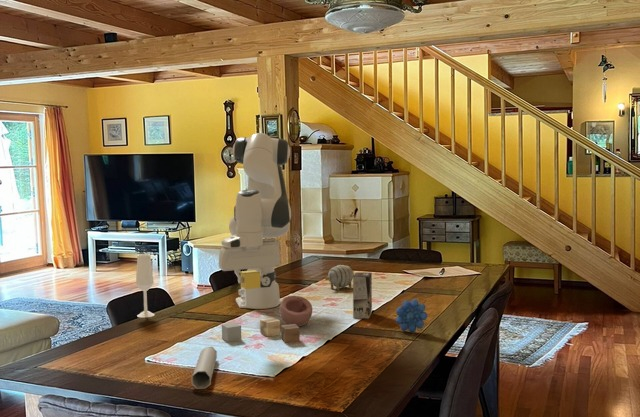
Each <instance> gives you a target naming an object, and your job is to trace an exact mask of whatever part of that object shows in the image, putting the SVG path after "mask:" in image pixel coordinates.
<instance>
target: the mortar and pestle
mask: <svg viewBox="0 0 640 417" xmlns="http://www.w3.org/2000/svg"><path fill="white" fill-rule="evenodd" d="M281 300H282V302H281V304H279V308H278V309H279V310H278V311H279V316H280V318H281V320H282V322H284V324H285V325H290V324H296V325H297V326H298V327H301V326H303V325H305V324H307V323H308V322H309V320H310V319H311V317H312V314H313V305H312V303H311V302H310V301H309V300H308V299H306V298H305V297H303V296H298V295H288V296H286V297H284V298H283V299H281Z"/></svg>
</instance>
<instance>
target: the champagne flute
mask: <svg viewBox="0 0 640 417" xmlns="http://www.w3.org/2000/svg"><path fill="white" fill-rule="evenodd" d="M136 260H137V261H136V274H135V285H136V286H137V288H138V289H139V290H141V291H142V292H143V311H141V312H140V313H139V314H137V315H136V316H137V318H152V317H154V316H155V313H153V312H151V311H149V310H148V296H147V295H148V294H147V291H149V289H151V288H152V287H153V285H154V276H153V268H152V259H151V254H150V253H141V254H137V258H136Z"/></svg>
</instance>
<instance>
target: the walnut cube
mask: <svg viewBox="0 0 640 417" xmlns="http://www.w3.org/2000/svg"><path fill="white" fill-rule="evenodd" d="M300 329H301V328H300V326H297V325H296V324H290V325H288V324H280V335H281V337H280V338H281V339H282V340H281V341H282V342H283V343H284V344H285V345H287V344H296V343H297V344H298V343H300V338H301V337H300V336H301V335H300V331H301V330H300Z"/></svg>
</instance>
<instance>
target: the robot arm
mask: <svg viewBox="0 0 640 417" xmlns="http://www.w3.org/2000/svg"><path fill="white" fill-rule="evenodd" d="M290 147H291V146H290V145H289V142H288V140H286V139H283V138H276V137H271V136H269V135H268V134H266V133H263V132H257V133H254V134H251V136H249V137H246V136H243V137H242V136H241V137H238V138H236V140H235V142H234V144H233V146H232V156H233V158H234V160H235V162H236V163H239V164H241V165H242V166H243V171H244V173H245V175H246V176H247V189H242V190H240V191H238V192H237V193H236V199H235V205H234V207H233V216H232V217H231V218H230V220H229V222H228V223H229V224H228V230H229V233H230V234H231V236H228V237H226V238H224V239H222V240H221V246H222V247H221V249H220V250H219V254H218V255H219V256H218V267H219V269H220V270H222V272H229V271H234V274H235V275H236V277H237V282H238V284H241V283H244V281H243V280H244V278H243V277H241V274H240V273H241V270H246V271H252V270H256V271H258V272H260V288H254V289H244V288H242V287H241V286H240V289H238V291H237V292H238V295H239V297H236V298H235V302H236V303H237V306H238V307H239V308H240V309H251V310H253V309H254V310H263V309H264V310H265V309H272V308H275V307H278V306H280V304H281V302H282V300H283V299H281V298H280V287H279V286H280V285H279V283H278V282H276V275H277V274H276V271H275V267H279V265H280V264H281V256H280V248H281V246H280V241H279V240H278V239H276V238H279V237H282V236H285V235H286V234H287V233H288V232H289V231H290V226H291V219H292V209H291V205H290V202H289V201H288V192H287V188H286V182H285V177H284V172H283V170H282V167H281V166H283V165H286V164H287V163H288V160H289V159H290V155H291V148H290Z"/></svg>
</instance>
